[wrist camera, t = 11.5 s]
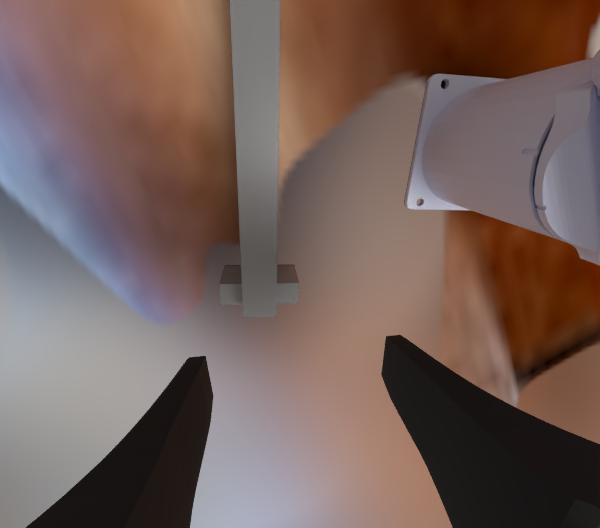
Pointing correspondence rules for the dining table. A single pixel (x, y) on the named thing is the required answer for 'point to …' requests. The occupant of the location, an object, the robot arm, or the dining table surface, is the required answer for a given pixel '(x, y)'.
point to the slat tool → (257, 162)
